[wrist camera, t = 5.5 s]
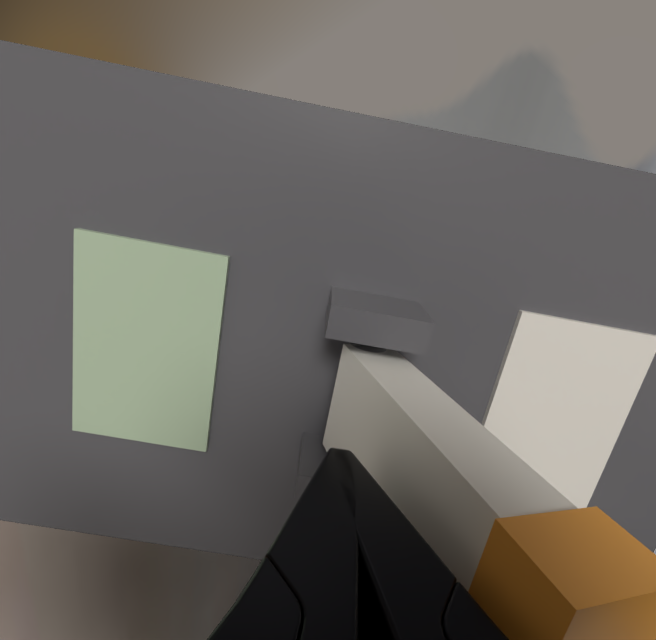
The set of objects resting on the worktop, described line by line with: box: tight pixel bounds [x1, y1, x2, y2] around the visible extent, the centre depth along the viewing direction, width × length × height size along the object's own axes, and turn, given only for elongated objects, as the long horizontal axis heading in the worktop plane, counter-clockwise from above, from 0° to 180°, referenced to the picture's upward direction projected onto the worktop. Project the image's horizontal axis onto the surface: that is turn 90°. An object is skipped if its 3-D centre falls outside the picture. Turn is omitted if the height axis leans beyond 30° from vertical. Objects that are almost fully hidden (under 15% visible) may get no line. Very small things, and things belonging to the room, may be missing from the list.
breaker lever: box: [323, 342, 656, 640], centre depth 8 cm, size 3×2×8 cm, turn 170°
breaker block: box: [0, 40, 656, 560], centre depth 13 cm, size 14×22×5 cm, turn 79°
